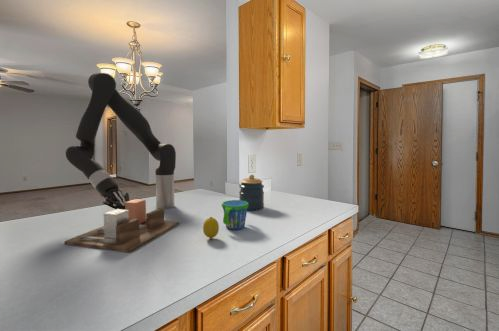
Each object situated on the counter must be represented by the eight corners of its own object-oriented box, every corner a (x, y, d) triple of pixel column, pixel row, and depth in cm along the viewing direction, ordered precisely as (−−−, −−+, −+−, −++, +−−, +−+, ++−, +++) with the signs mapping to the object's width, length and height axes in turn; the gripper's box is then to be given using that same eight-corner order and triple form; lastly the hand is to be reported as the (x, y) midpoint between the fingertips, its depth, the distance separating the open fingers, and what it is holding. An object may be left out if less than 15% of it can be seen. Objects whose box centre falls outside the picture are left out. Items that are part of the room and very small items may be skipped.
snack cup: (235, 235, 100) (235, 208, 100) (212, 230, 106) (212, 205, 105) (255, 224, 114) (256, 200, 113) (235, 220, 119) (235, 197, 118)
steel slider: (104, 239, 92) (103, 213, 91) (117, 233, 97) (116, 209, 97) (117, 240, 90) (116, 214, 90) (129, 234, 96) (128, 210, 95)
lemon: (206, 242, 93) (206, 220, 92) (201, 237, 98) (201, 215, 97) (221, 240, 96) (221, 217, 95) (215, 235, 101) (215, 214, 100)
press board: (64, 244, 91) (63, 223, 90) (126, 219, 120) (125, 203, 119) (131, 252, 85) (130, 230, 84) (179, 224, 113) (178, 207, 113)
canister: (268, 207, 144) (268, 174, 142) (255, 212, 133) (256, 177, 131) (247, 204, 150) (247, 172, 149) (234, 209, 140) (234, 175, 138)
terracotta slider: (125, 224, 108) (125, 202, 107) (135, 220, 114) (135, 199, 113) (136, 225, 107) (136, 203, 106) (146, 221, 113) (145, 199, 112)
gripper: (95, 179, 106) (123, 212, 104) (120, 175, 118) (145, 204, 116) (85, 191, 108) (112, 224, 106) (110, 186, 120) (135, 215, 118)
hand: (129, 213), depth 111 cm, fingers closed
